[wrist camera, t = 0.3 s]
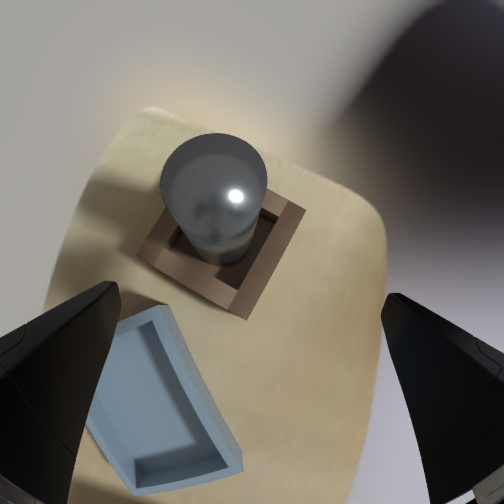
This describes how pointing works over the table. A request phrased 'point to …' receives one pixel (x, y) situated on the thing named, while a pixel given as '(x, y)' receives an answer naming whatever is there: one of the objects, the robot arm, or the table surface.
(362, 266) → the table surface
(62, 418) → the robot arm
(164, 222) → the socket block
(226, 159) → the metallic grey cylinder
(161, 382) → the tray
